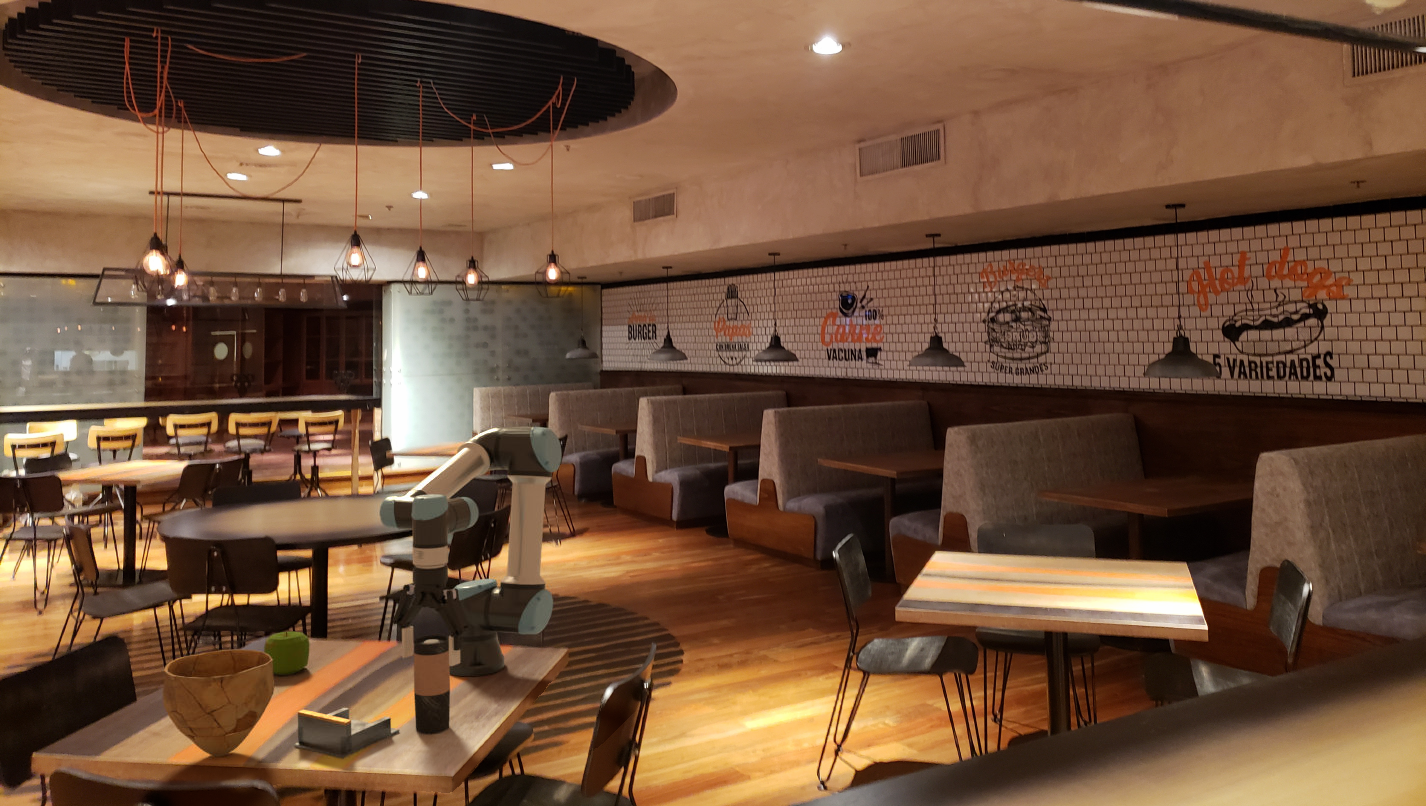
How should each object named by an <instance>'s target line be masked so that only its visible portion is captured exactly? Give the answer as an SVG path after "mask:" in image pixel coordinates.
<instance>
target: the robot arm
mask: <svg viewBox="0 0 1426 806" xmlns="http://www.w3.org/2000/svg"><path fill="white" fill-rule="evenodd" d="M559 439H560V438H559V437H558V435H557V434H556V432H555V431H553V430H552V428H551V429H550V428H549V427H540V426H496V427H492V428H489V429H486V430H484V431H482V432H480V433H478V434H476V435H474V436H472V437H471V438H469V439H468V440H467V441H465V442H464V443H462V444H461V445H460V446H459V447H458V449H457V452H456V454H454V455H453V456H452V457H451V458H449V459H448V460H447V461H446V462H444V463H443V464H442V465H440V466H439V467H438V468H437V469H435V470H434V471H433V472H432V473H431V474H429V475H428V476H427V477H425V478H424V479H423V480H422V481H420V482H418V483H417V484H416V485H415V486H413V488H411V489H410V490H408V491H407V492H406V493H405V494H404V495H400V496H399V495H393V496H387V497H386V498H384V500H383V501H382V502H381V504H380V506H379V507H380V508H379V517H380V522H381V523H382V525H384V527H386V528H390V529H397V530H412V564H413V565H414V566H413V568H412V582H411V583H408V584H404V585H403V587H402V595H401V598H400V600H399V603H398V606H397V608H396V611H395V613H394V616H393V618H392V624H393V625H397V626H398V628H399V640H400V642H401V658H402V659H407V658H408V657H412V656H414V626H412V625H413V623H412V622H413V621H414V620H415V619H416V617H417V615H418V614H419V613H420V611H421V610H422V608H429V609H434V610H435V611H436V612H438V614H439V616H440V617H441V619H442V620H443V622H444V624H445V625H446V627H447V628H448V630H449V632H450V635H449V636H448V638H449V669H450V675H453V676H459V677H479V676H486V675H490V674H491V675H492V674H495V673H496V672H497V673H498V672H499V671H501V670H503V668H505V656H504V654H503V651H502V649H501V644H500V642H499V638H498V632H500V633H512V634H520V635H522V636H523V635H538V634H539V633H541V632H542V631H543V630H544V629H545V628H546V626H547V624H548V623H549V620H550V619H551V616H552V613H553V607H554V599H553V595H552V592H551V591H550V590H548V589H546V581H545V580H544V578H542V576H541V566H542V565H541V564H542V563H541V562H542V551H543V550H542V549H543V548H542V546H543V534H544V533H543V531H544V513H545V501H546V500H545V498H546V497H545V496H546V484H548V483H549V482H550V481H551V480H552V476H553V475H552V474H553V473H554V472H556V471H557V470H559V468H560V466H561V465H560V464H561V463H562V453H563V452H562V447H561V442H560V440H559ZM495 470H496V471H497V470H498V471H499V470H502V471H503V470H505V471H506V470H507V478H508V480H509V481H510V482H511V484H512V491H511V505H510V523H509V535H508V536H509V537H508V553H507V554H508V555H507V568H506V574H505V576H504V577H503V578H502V579H501V580H500V586H498V582H497V580H496V579H494V578H482V579H476V580H470V581H465V582H462V583H460V584H457V585H456V586H455V587H454V588H453V589H447V586H446V585H447V582H448V579H449V566H448V565H447V564H448V563H449V552H448V551H449V550H448V548H449V547H448V545H449V544H448V539H449V534H452V533H456V532H457V533H458V532H461V531H463V532H464V531H466V530H467V529H468V528H472V527H474V525H476V522H477V521H478V519H479V515H480V513H479V507H478V505H477V504H476V502H475V501H474V500H473V499H472V498H470V497H466V496H461V497H460V496H457V497H455V498H451V497H452V496H454V495H455V494H456V493H457V492H459V490H461V489H462V488H463V487H464V486H465V485H467V484H468V483H469V482H471V481H472V480H473V479H474V478H475V477H481V476H482V475H484V474H486V473H487V472H490V471H495ZM414 596H415V598H414ZM413 599H414V600H413Z"/></svg>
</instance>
